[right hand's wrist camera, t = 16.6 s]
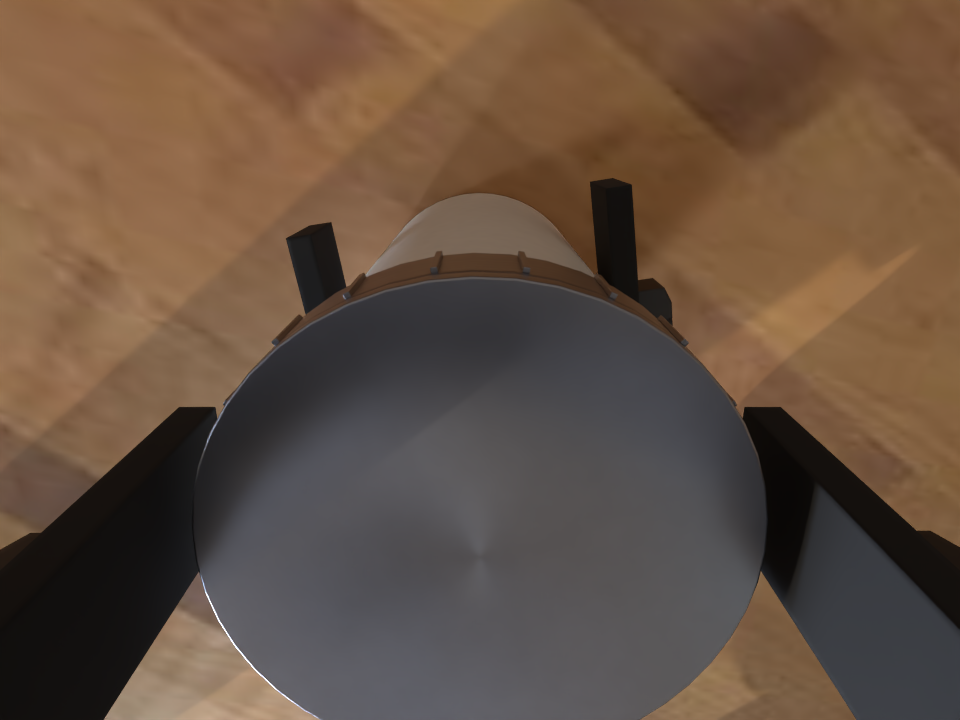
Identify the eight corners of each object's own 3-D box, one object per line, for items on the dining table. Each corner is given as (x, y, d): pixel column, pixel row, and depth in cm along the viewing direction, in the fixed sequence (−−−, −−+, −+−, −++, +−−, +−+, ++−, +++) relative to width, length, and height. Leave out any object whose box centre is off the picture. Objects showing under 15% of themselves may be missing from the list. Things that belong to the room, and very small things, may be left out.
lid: (759, 625, 13) (803, 703, 11) (336, 719, 14) (314, 804, 12) (683, 177, 10) (727, 187, 8) (142, 336, 11) (75, 376, 9)
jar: (374, 376, 28) (234, 696, 12) (387, 180, 25) (225, 262, 9) (561, 397, 29) (666, 735, 13) (596, 206, 26) (792, 329, 10)
